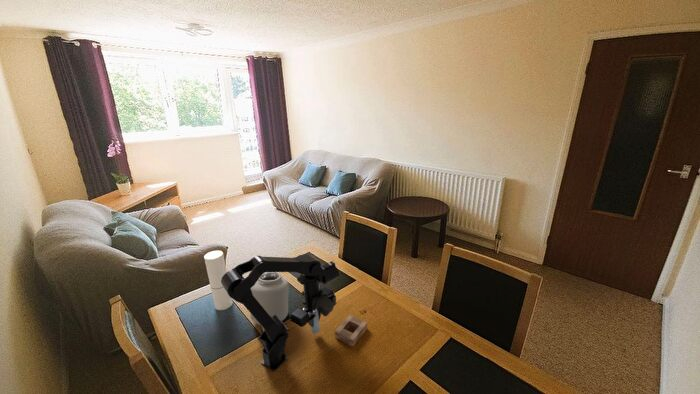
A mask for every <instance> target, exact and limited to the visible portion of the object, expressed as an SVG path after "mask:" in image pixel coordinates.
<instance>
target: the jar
mask: <svg viewBox="0 0 700 394" xmlns="http://www.w3.org/2000/svg"><path fill="white" fill-rule="evenodd" d="M251 290H252V294H253V296H254V297H255V298H256V299H257V301H258V302H259V303H260V304H261V306H262V307H263V308H264V309H265V311H266V312H267V313H268V314H269V315H270V316H271V317H273V316H274V315H275V314H276V315H277V316H278V317H279V319H280V320H281V321H282V322H283V321H284V320H285V319H286V317H287V316H288V314H289V281H288V279H286V278H285V277H283V276H282V274H281V273H280V272H265V273H263V274H262V275H261V276H260V278H259V279H258V281H257V282H256V284H255V285H254V286H253V287H251ZM249 313H250V312H249ZM250 319H251V320H252V322H253V323H255V324H257V325H259V326H261V324H260V323H259V322H258V321H257V320H256V319H255V318H254V316H253V315H252V314H251V313H250Z"/></svg>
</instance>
